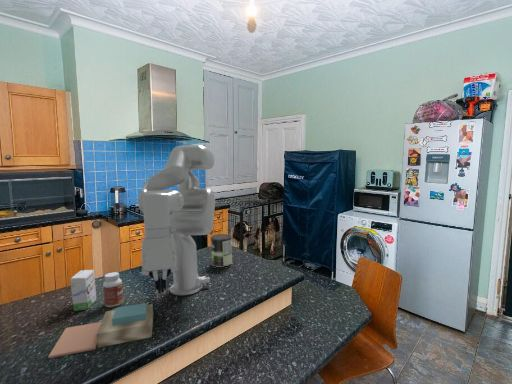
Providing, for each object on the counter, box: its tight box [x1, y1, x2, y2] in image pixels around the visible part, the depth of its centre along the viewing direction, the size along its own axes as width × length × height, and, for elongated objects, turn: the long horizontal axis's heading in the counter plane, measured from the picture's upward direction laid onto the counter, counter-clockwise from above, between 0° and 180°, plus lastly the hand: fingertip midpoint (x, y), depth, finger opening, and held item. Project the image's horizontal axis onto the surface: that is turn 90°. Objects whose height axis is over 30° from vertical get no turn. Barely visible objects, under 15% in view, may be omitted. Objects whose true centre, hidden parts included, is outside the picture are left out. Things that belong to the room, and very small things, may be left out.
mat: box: [48, 321, 102, 359], centre depth 84 cm, size 11×14×1 cm
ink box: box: [70, 269, 97, 312], centre depth 104 cm, size 8×5×12 cm, turn 10°
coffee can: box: [210, 233, 233, 268], centre depth 142 cm, size 10×10×14 cm
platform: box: [97, 303, 154, 348], centre depth 87 cm, size 14×13×4 cm
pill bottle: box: [102, 271, 124, 308], centre depth 104 cm, size 6×6×11 cm
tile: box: [112, 302, 148, 326], centre depth 87 cm, size 9×7×2 cm
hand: (161, 291), depth 89 cm, fingers closed
